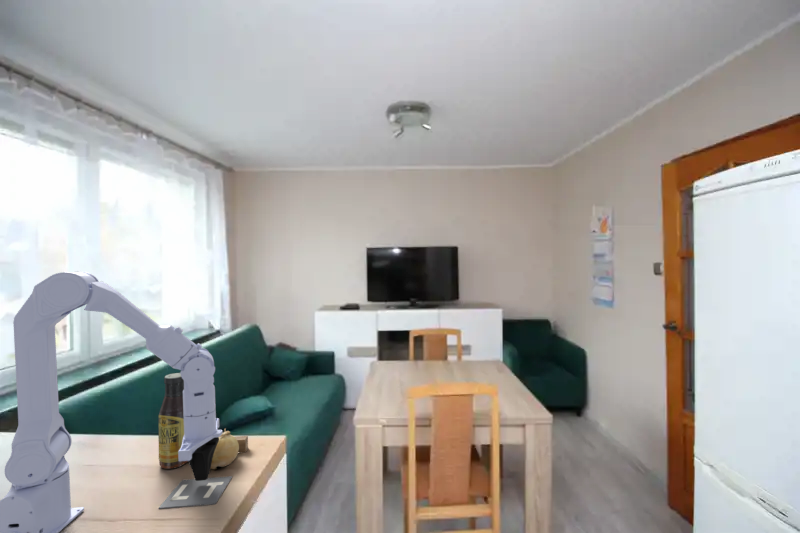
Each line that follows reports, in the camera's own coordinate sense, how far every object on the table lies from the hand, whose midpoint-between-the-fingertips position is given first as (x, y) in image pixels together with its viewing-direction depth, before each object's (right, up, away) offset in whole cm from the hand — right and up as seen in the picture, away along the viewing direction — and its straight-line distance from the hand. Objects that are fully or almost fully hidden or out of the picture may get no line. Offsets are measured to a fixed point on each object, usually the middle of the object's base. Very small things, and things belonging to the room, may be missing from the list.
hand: (202, 478), depth 77 cm
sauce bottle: (-10, -2, +9) cm, 14 cm away
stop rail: (-1, -1, +14) cm, 14 cm away
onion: (0, -2, +8) cm, 8 cm away
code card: (0, -1, -2) cm, 3 cm away
